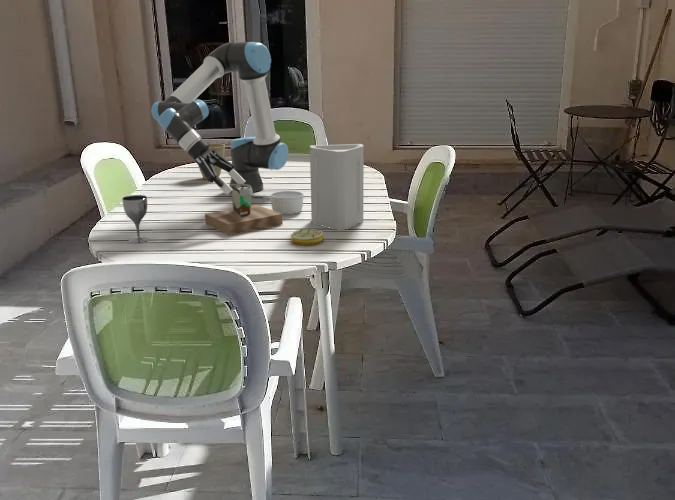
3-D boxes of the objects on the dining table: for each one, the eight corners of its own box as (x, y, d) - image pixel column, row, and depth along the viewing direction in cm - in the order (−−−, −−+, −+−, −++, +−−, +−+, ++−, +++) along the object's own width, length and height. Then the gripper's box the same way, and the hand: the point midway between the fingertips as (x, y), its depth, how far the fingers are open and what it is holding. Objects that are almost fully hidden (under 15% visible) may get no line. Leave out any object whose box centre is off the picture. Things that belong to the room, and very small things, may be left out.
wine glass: (138, 245, 224) (133, 201, 220) (121, 241, 228) (116, 198, 224) (156, 239, 231) (151, 196, 226) (139, 236, 235) (135, 193, 230)
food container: (258, 215, 244) (256, 188, 240) (241, 217, 241) (240, 190, 238) (248, 208, 254) (246, 182, 251) (232, 210, 252) (230, 183, 249)
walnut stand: (257, 214, 261) (256, 204, 260) (282, 224, 247) (282, 213, 246) (205, 224, 248) (204, 213, 247) (229, 235, 235) (228, 224, 233)
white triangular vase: (314, 231, 239) (312, 152, 230) (311, 220, 253) (309, 145, 244) (367, 229, 241) (368, 150, 232) (361, 218, 255) (362, 144, 246)
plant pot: (233, 177, 329) (231, 144, 324) (212, 182, 317) (210, 149, 312) (210, 174, 336) (208, 142, 331) (189, 179, 324) (186, 146, 320)
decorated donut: (298, 236, 233) (298, 226, 232) (327, 239, 230) (327, 228, 229) (286, 245, 224) (286, 234, 223) (317, 247, 221) (316, 236, 220)
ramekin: (289, 205, 274) (288, 188, 272) (311, 211, 265) (310, 193, 263) (263, 211, 266) (262, 194, 263) (285, 217, 257) (284, 199, 254)
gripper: (202, 146, 255) (241, 187, 256) (173, 158, 231) (217, 203, 233) (214, 132, 252) (254, 173, 253) (186, 143, 229) (230, 188, 230)
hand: (236, 188), depth 243 cm, fingers open, 13 cm apart
